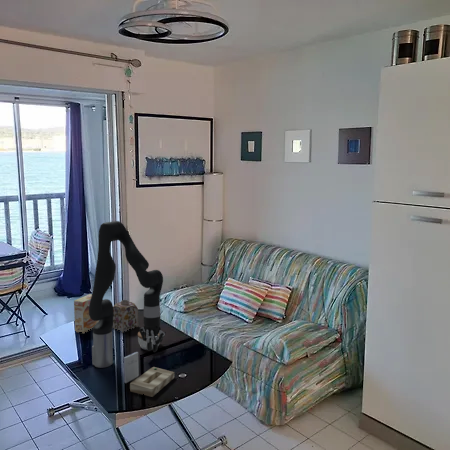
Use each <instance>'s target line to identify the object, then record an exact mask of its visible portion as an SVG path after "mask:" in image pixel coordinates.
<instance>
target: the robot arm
mask: <svg viewBox="0 0 450 450" xmlns="http://www.w3.org/2000/svg"><path fill="white" fill-rule="evenodd" d="M115 241H116V242H117V241H118V242H120V243H121V244H122V245H123V248H124V253H125V258H126V259H125V260H126V261H127V263H128V264H129V266H130V267H131V268H132V269H133V271H135V274H136V276H137V279H138V282H139V284H140V285H141V286H142V287H143V288H146V289H148V290H147V291H145V293H144V294H143V326H142V327H140V328H139V329H138V332H140V334H141V336H142V338H143V341H146V342H147V349H148V350H147V351H148V352H150V351H152V353H156V352H157V351H158V350H159V349H158V347H159V346H158V344H159V343H160V344H161V343H162V341H163V340H164V339H165V336H166V331H163V330H162V328H161V322H162V320H161V305H160V304H161V300H160V299H161V297H160V295H161V292H162V288H163V285H164V284H163V283H164V276H163V273H162V271H160V270H159V269H153V270H149V271H148V268H149V267H150V264H149V261H148V260H147V259H146V258H145V256H144V255H143V254H142V253H141V251H139V249H138V247H137V246H136V244H135V242H134V240H133V238H132V237H131V235H130V233H129V231H128V230H127V228H126V226H125V225H124V224H123V222H121V221H119V220H114V221H105V222H103V223H102V224H100V225H99V229H98V245H97V246H98V247H97V248H98V249H97V257H96V258H97V259H96V265H95V273H94V281H93V287H92V288H93V289H92V296H91V300H90V305H89V316H90V318H91V319H92V320H93V321H98V320H99V322H98V323H97V324H96V325H94V327H93V329H92V338H93V340H92V342H93V345H92V346H91V356H92V357H91V358H92V359H91V361H92V365H93V366H94V367H96V368H99V369H100V368H103V369H104V368H108V367H111V365H113V362H114V359H113V357H114V356H113V354H114V353H113V328H112V327H113V313H114V311H113V306H114V305H113V302H112V301H111V300H110V299H108V298H104V296H105V295H106V293H107V292H108V290H109V289H110V287H111V285H112V284H113V282H114V280H115V277H116V267H117V266H116V263H115V261H114V258H113V256H112V254H111V244H112V242H115ZM158 334H159V336H158ZM158 337H159V338H158ZM152 340H153V350H152V342H151V341H152ZM160 344H159V345H160Z"/></svg>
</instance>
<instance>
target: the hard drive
mask: <svg viewBox="0 0 450 450" xmlns="http://www.w3.org/2000/svg"><path fill="white" fill-rule="evenodd" d="M139 368H140V367H139V351H135V352H132V353H130V354H128V355H126V356H124V357H123V383H124V384H127V383H129V382H132V381H134V380H135V379H137V378H138V377H139V375H140V374H139V370H140V369H139Z"/></svg>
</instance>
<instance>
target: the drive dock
mask: <svg viewBox="0 0 450 450" xmlns="http://www.w3.org/2000/svg"><path fill="white" fill-rule="evenodd" d="M174 379H175V371H171V370H167V369H164V368H159V367H155V366H153V367H151V368H149V369H147V371H145V372H144V373H143V374H141V375H140V376H138V377H136V378H135V379H133V380H131V381H130V383H129V389H130V391H129V392H131V393H135V394H138V395H143V394H144V396H147V397H152V398H153V397H154V396H155V395H157V393H160V391H161V390H162V389H164V387H166V386H167V385H168V384H169V383H170V382H172V380H174Z"/></svg>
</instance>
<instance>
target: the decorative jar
mask: <svg viewBox="0 0 450 450" xmlns="http://www.w3.org/2000/svg"><path fill="white" fill-rule="evenodd" d="M113 311H114V313H113V327H112V329H113V328H114V329H113V330H115V329H117V330H116V331H118V330H120V331H122V332H121V333H125V332H128V331H130V330H129V329H131V330H132V328H133V329H135V327H136V328H139V308H138V306H137V305H136V304H135V303H134V302H133V301H130V300H128V299H122V300H120V302H117V303H115V304H114V305H113ZM127 330H128V331H127ZM120 331H119V332H120ZM124 331H125V332H124Z"/></svg>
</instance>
